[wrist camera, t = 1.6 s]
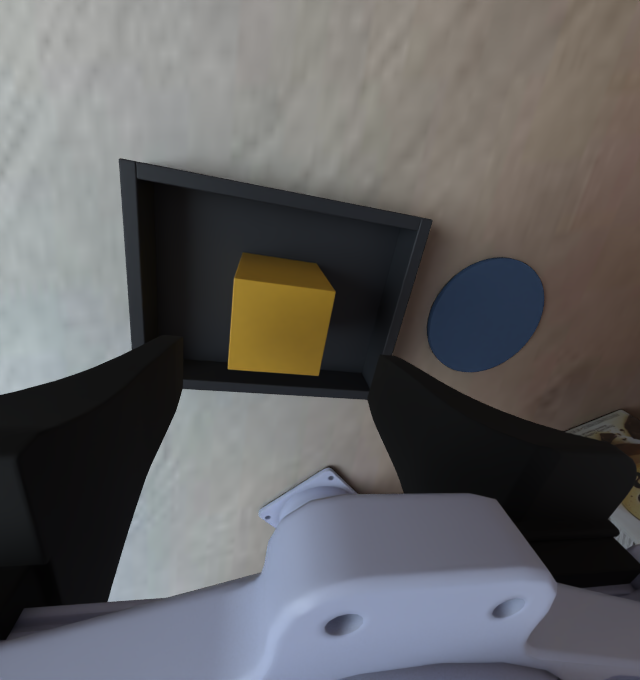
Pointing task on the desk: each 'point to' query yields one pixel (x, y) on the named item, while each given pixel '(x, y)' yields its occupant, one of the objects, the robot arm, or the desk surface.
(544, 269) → the desk surface
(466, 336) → the coaster
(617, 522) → the coffee box
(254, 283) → the block
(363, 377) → the tray
